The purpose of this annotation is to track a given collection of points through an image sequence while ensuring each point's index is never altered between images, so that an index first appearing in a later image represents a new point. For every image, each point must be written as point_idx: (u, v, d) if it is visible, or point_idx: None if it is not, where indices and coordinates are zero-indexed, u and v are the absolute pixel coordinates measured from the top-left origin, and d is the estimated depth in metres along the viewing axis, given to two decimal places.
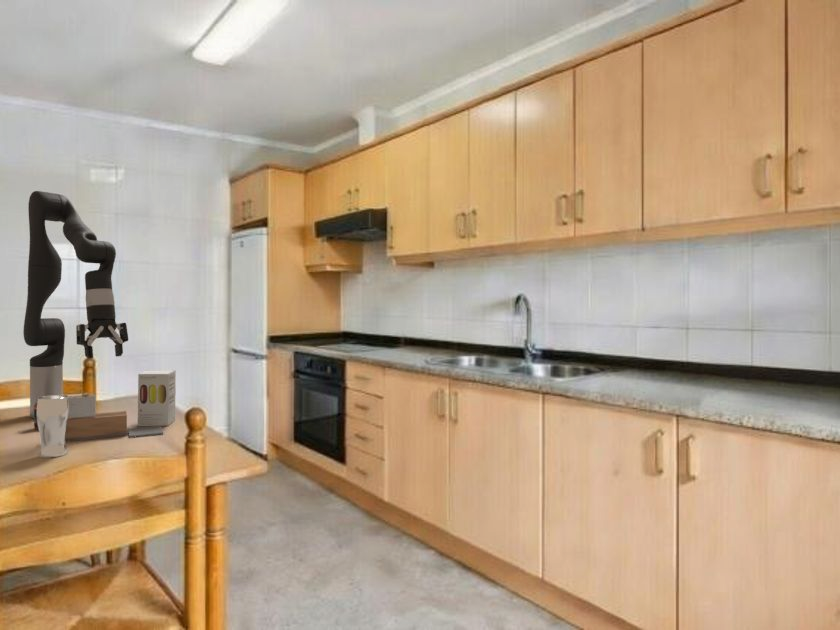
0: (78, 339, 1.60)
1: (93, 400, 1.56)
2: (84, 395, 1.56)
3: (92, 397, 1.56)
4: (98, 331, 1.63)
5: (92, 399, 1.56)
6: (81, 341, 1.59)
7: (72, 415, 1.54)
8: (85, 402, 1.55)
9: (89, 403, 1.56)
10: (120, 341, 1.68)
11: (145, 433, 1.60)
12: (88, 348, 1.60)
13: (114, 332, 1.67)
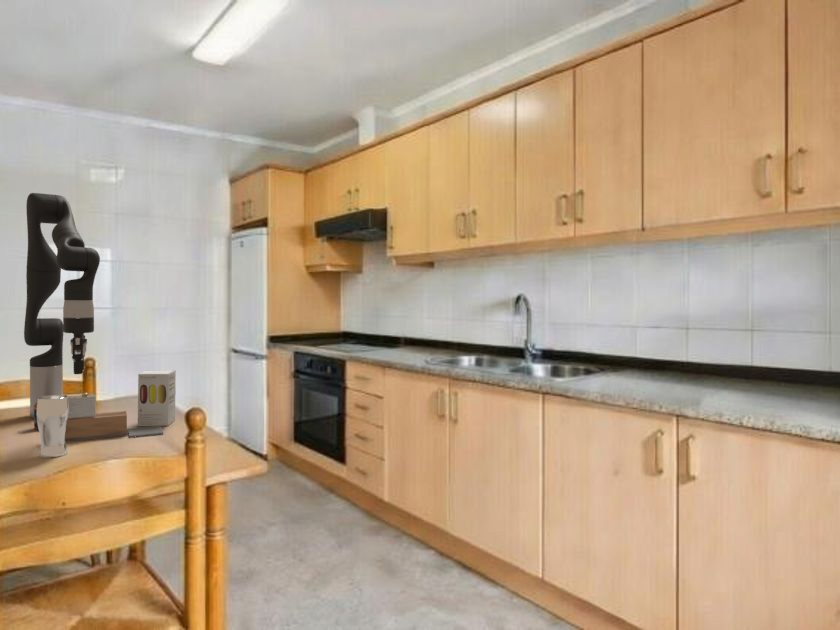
0: (74, 353, 1.50)
1: (93, 400, 1.56)
2: (84, 395, 1.56)
3: (92, 397, 1.56)
4: (85, 345, 1.55)
5: (92, 399, 1.56)
6: (82, 356, 1.51)
7: (72, 415, 1.54)
8: (85, 402, 1.55)
9: (89, 403, 1.56)
10: (84, 354, 1.61)
11: (145, 433, 1.60)
12: (81, 363, 1.52)
13: None
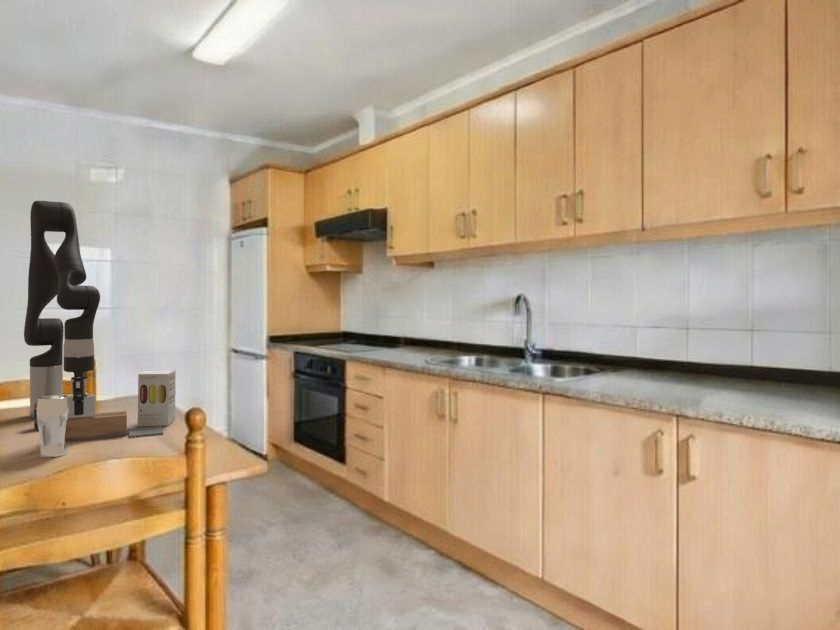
0: (75, 396, 1.51)
1: (93, 400, 1.56)
2: (84, 395, 1.56)
3: (92, 397, 1.56)
4: (85, 384, 1.56)
5: (92, 399, 1.56)
6: (83, 398, 1.52)
7: (72, 415, 1.54)
8: (85, 402, 1.55)
9: (89, 403, 1.56)
10: None
11: (145, 433, 1.60)
12: (81, 404, 1.54)
13: None
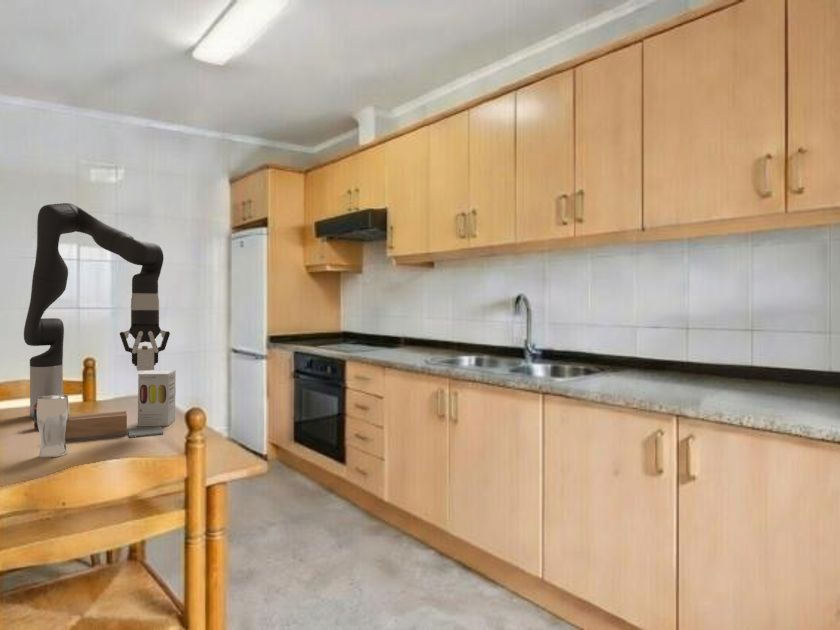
0: None
1: None
2: (147, 347, 1.64)
3: None
4: None
5: None
6: None
7: None
8: None
9: None
10: None
11: (145, 433, 1.60)
12: None
13: None
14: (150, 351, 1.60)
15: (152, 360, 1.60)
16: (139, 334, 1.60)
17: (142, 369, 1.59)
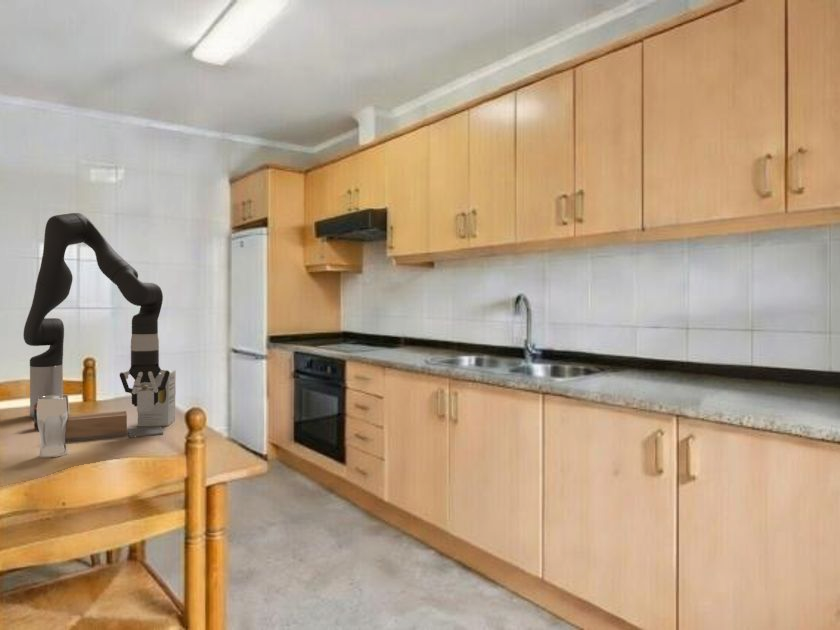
0: None
1: None
2: (147, 387, 1.64)
3: (152, 387, 1.67)
4: None
5: None
6: None
7: None
8: None
9: None
10: None
11: (145, 433, 1.60)
12: None
13: None
14: (150, 392, 1.60)
15: (152, 401, 1.60)
16: (139, 374, 1.60)
17: (142, 410, 1.59)
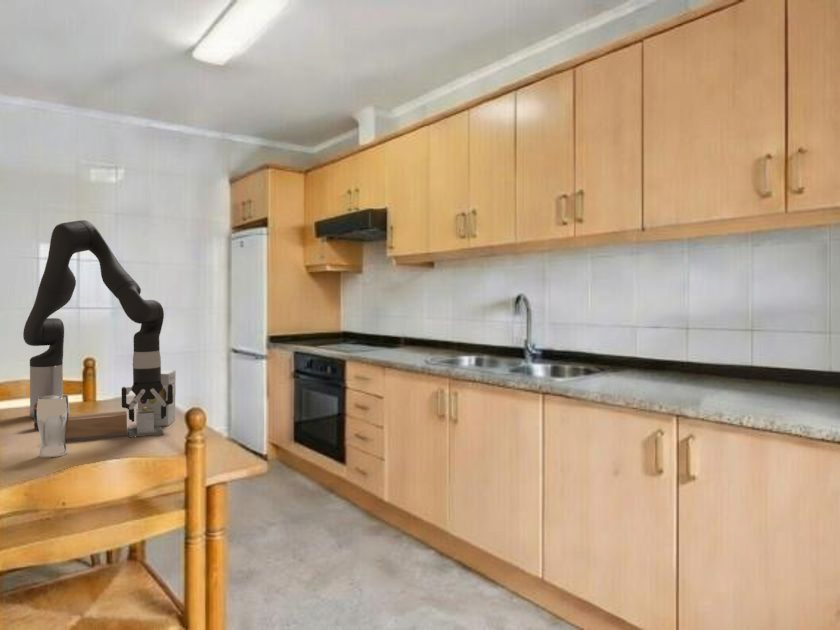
0: None
1: None
2: (147, 408, 1.65)
3: None
4: None
5: None
6: None
7: None
8: None
9: None
10: None
11: (145, 433, 1.60)
12: None
13: None
14: (150, 414, 1.60)
15: (152, 423, 1.61)
16: (141, 391, 1.61)
17: (142, 432, 1.59)
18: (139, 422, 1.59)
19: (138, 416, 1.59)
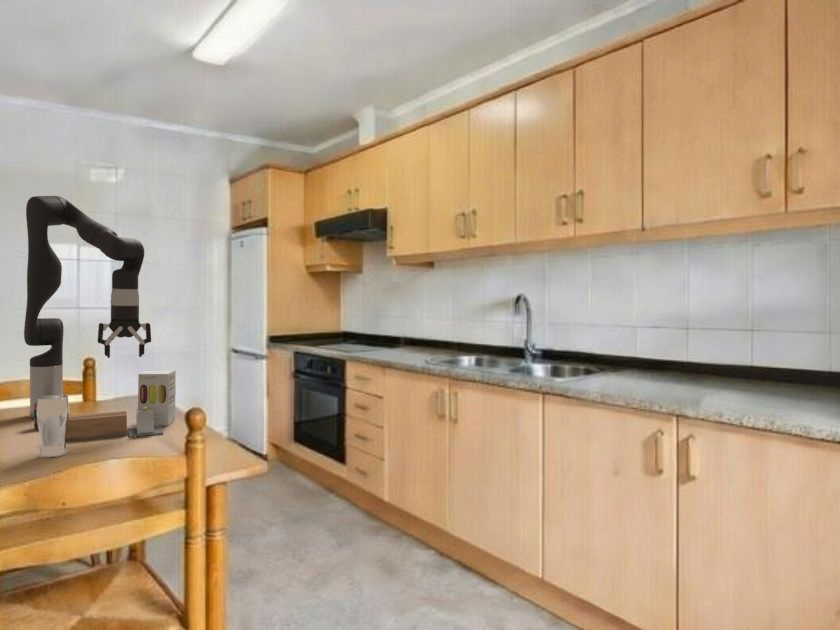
0: None
1: None
2: (147, 408, 1.65)
3: None
4: None
5: None
6: None
7: None
8: None
9: None
10: None
11: (145, 433, 1.60)
12: None
13: None
14: (150, 414, 1.60)
15: (152, 423, 1.61)
16: (119, 328, 1.62)
17: (142, 432, 1.59)
18: (139, 422, 1.59)
19: (138, 416, 1.59)
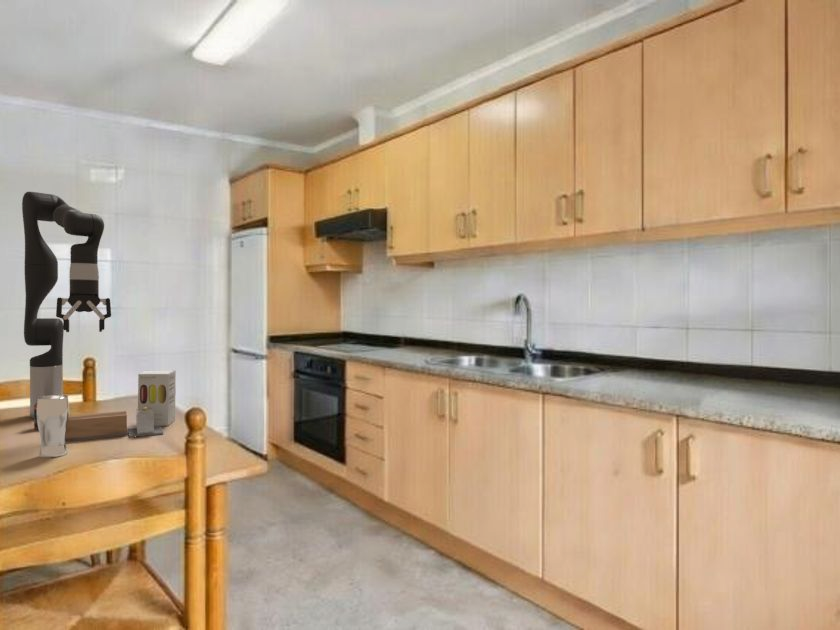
0: None
1: None
2: (147, 408, 1.65)
3: None
4: None
5: None
6: None
7: None
8: None
9: None
10: None
11: (145, 433, 1.60)
12: None
13: None
14: (150, 414, 1.60)
15: (152, 423, 1.61)
16: (77, 303, 1.62)
17: (142, 432, 1.59)
18: (139, 422, 1.59)
19: (138, 416, 1.59)
